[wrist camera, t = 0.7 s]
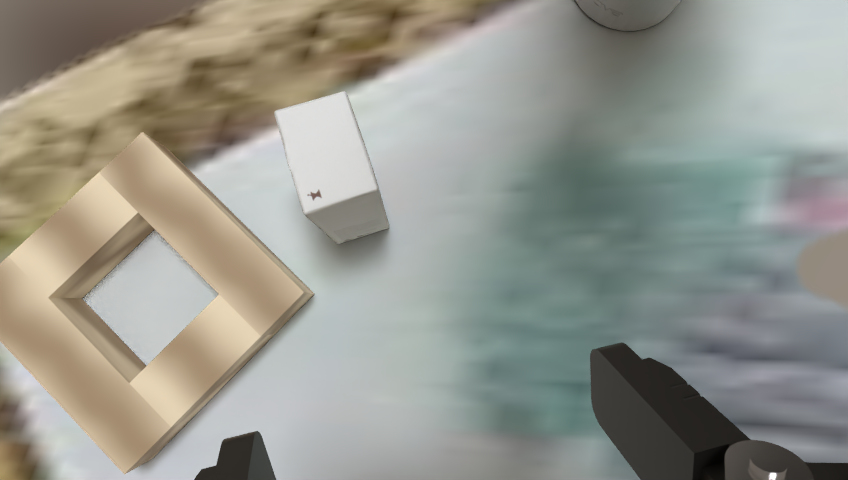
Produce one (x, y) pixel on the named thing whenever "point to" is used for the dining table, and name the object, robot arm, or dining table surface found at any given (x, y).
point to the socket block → (93, 339)
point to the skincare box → (332, 167)
